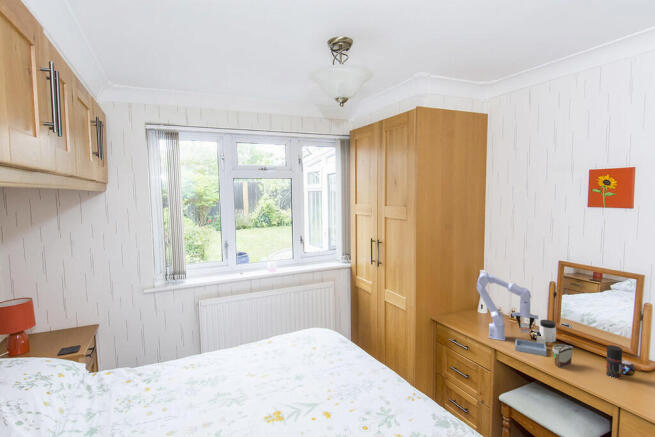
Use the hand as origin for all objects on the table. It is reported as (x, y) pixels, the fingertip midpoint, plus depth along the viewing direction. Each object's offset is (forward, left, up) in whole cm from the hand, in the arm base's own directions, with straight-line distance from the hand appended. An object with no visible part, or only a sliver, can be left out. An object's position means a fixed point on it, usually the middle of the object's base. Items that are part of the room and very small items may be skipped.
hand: (524, 328), depth 214 cm
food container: (+17, -23, -9) cm, 30 cm away
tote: (+3, -11, -9) cm, 14 cm away
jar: (+13, +9, -9) cm, 18 cm away
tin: (0, 0, -2) cm, 2 cm away
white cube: (+9, 0, -9) cm, 13 cm away
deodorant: (+40, -25, -9) cm, 48 cm away
